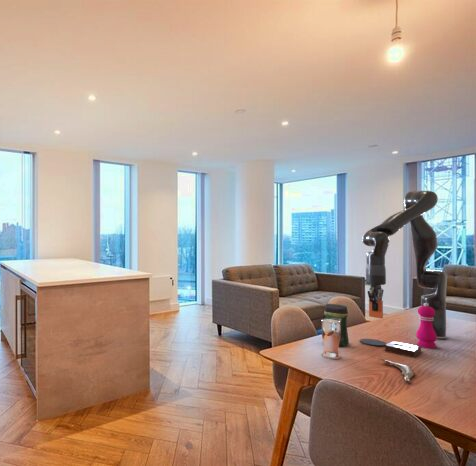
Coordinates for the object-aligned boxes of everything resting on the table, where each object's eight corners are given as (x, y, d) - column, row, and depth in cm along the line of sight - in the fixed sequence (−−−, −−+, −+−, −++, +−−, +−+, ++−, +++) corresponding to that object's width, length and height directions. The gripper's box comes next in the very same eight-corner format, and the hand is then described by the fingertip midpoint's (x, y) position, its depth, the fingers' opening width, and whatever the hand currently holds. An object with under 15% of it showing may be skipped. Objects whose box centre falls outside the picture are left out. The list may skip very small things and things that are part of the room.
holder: (392, 346, 154) (392, 340, 154) (421, 352, 146) (421, 346, 146) (385, 350, 148) (385, 345, 148) (414, 357, 140) (414, 351, 140)
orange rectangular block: (370, 315, 160) (370, 299, 160) (382, 318, 156) (382, 300, 156) (369, 316, 159) (368, 299, 159) (381, 318, 155) (381, 301, 155)
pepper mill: (441, 349, 150) (440, 304, 150) (422, 348, 151) (422, 303, 151) (430, 344, 157) (429, 301, 157) (412, 343, 158) (412, 300, 159)
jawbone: (401, 365, 132) (402, 360, 132) (437, 389, 112) (438, 383, 112) (376, 361, 134) (376, 356, 134) (407, 384, 114) (407, 378, 114)
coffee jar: (349, 343, 157) (349, 304, 157) (347, 348, 151) (347, 307, 151) (326, 339, 164) (326, 301, 164) (322, 343, 158) (322, 304, 158)
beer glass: (338, 354, 143) (338, 319, 143) (343, 360, 136) (342, 323, 137) (319, 352, 145) (319, 318, 145) (323, 358, 139) (323, 322, 139)
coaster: (365, 338, 165) (365, 337, 165) (389, 343, 157) (389, 342, 157) (356, 342, 159) (356, 341, 159) (382, 348, 151) (382, 346, 151)
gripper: (380, 275, 150) (380, 314, 150) (390, 273, 158) (390, 310, 158) (360, 274, 156) (360, 311, 156) (371, 272, 164) (371, 307, 164)
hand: (375, 310), depth 157 cm, fingers closed on orange rectangular block, 1 cm apart
